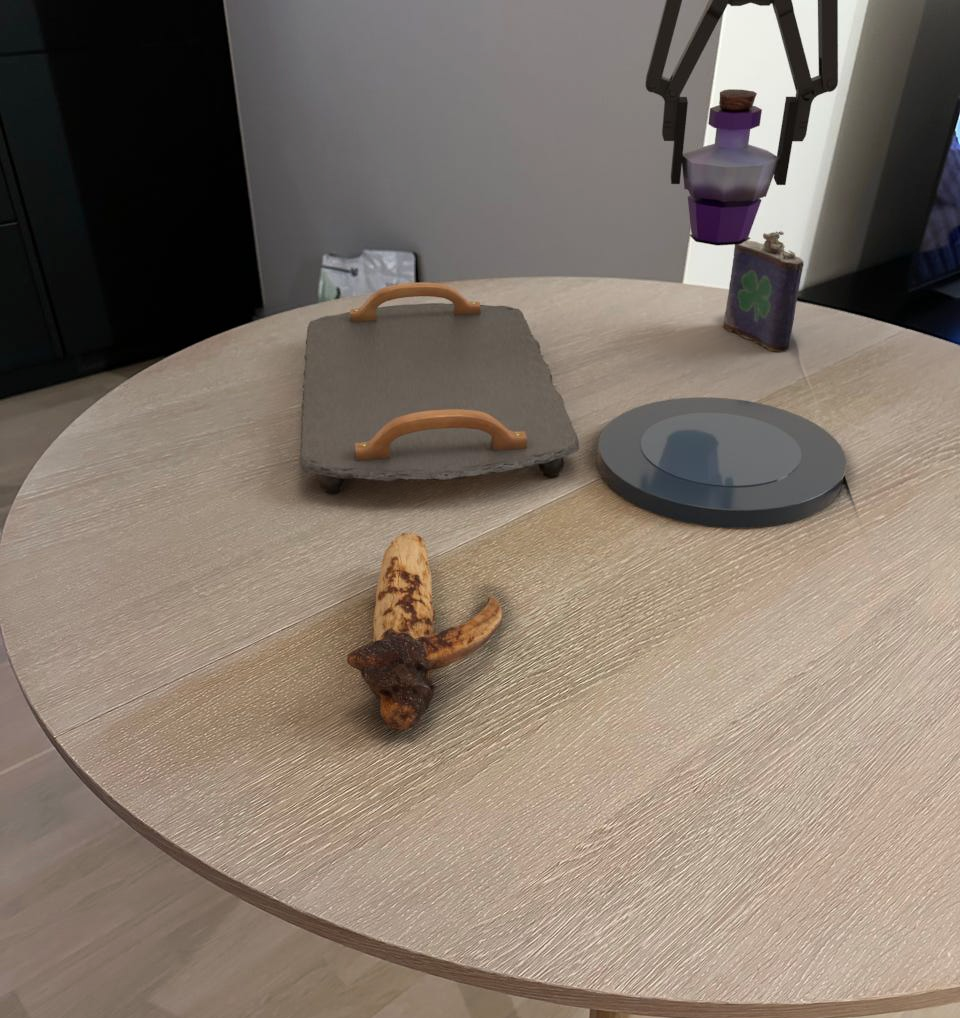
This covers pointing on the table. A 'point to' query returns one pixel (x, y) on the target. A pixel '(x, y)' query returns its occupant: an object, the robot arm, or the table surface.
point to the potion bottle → (728, 173)
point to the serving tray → (428, 393)
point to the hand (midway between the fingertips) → (726, 180)
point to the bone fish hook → (413, 635)
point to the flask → (763, 292)
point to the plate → (721, 462)
